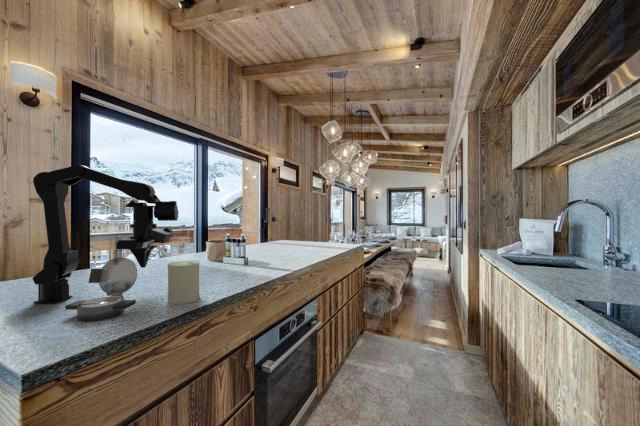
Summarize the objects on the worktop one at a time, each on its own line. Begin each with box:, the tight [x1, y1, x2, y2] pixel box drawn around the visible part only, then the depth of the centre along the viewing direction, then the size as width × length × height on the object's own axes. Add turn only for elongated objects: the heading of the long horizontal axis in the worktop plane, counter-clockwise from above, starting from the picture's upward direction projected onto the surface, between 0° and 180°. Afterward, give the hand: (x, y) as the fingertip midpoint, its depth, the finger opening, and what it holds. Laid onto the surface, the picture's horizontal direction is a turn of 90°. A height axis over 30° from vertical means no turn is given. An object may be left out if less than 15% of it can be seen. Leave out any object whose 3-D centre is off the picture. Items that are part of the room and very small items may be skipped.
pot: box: [65, 295, 137, 323], centre depth 76 cm, size 15×11×4 cm
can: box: [167, 260, 201, 305], centre depth 89 cm, size 9×9×12 cm
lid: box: [88, 256, 138, 297], centre depth 82 cm, size 13×11×1 cm
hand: (143, 267), depth 94 cm, fingers closed
